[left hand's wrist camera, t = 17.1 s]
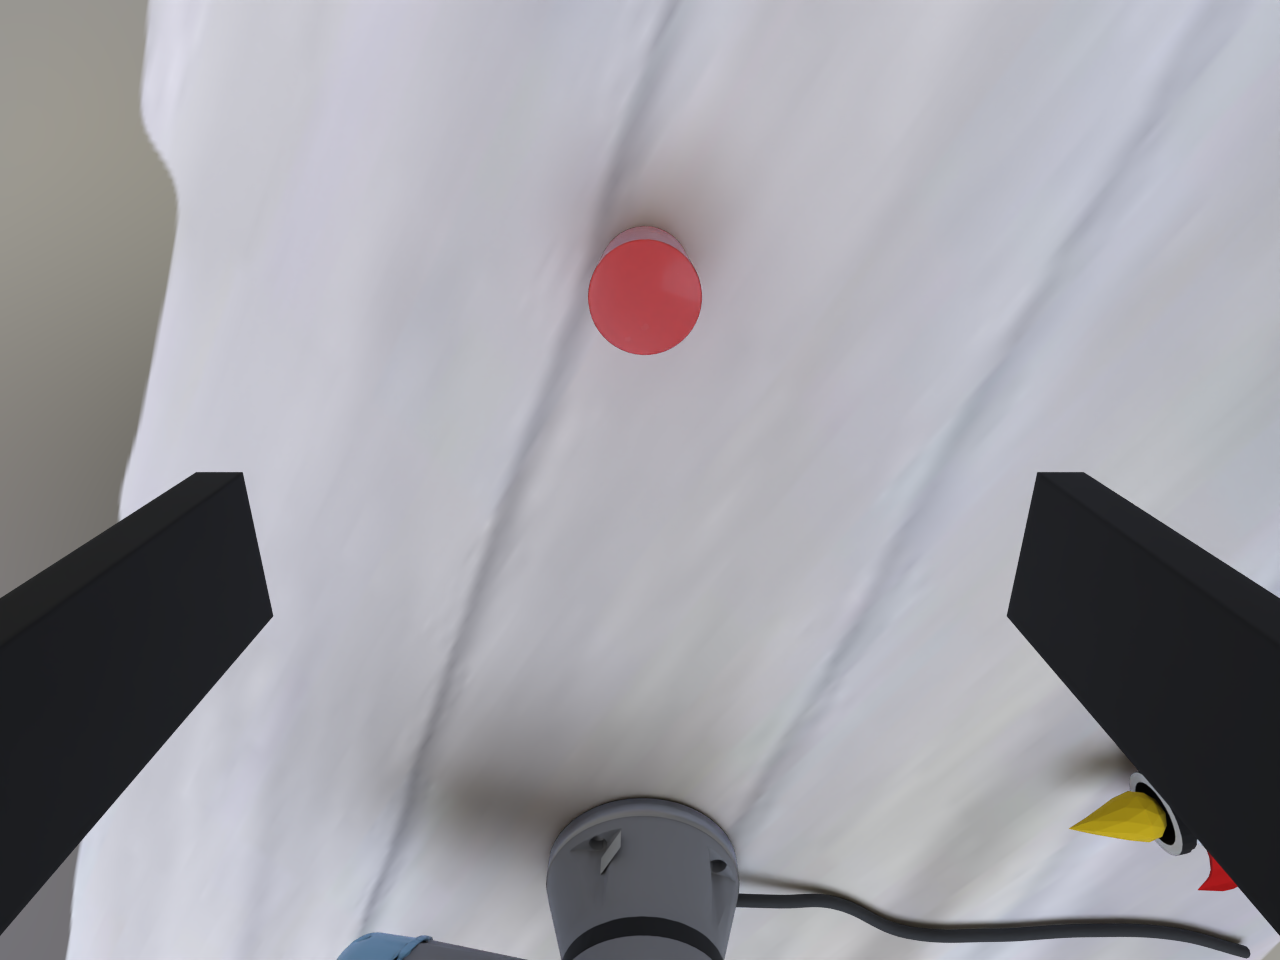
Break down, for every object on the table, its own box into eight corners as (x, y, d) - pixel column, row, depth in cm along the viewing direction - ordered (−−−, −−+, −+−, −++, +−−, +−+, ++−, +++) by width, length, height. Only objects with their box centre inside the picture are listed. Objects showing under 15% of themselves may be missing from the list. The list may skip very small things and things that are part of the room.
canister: (594, 230, 41) (581, 244, 33) (687, 222, 41) (698, 234, 33) (604, 323, 43) (594, 359, 35) (693, 316, 43) (705, 350, 35)
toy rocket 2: (1101, 929, 52) (1397, 864, 50) (1119, 867, 46) (1452, 793, 45) (1031, 804, 59) (1287, 745, 58) (1040, 738, 54) (1323, 671, 52)
